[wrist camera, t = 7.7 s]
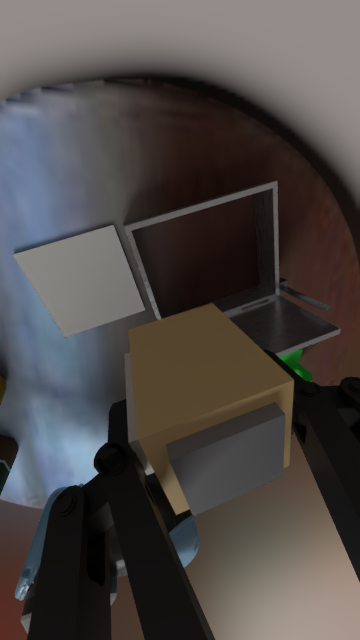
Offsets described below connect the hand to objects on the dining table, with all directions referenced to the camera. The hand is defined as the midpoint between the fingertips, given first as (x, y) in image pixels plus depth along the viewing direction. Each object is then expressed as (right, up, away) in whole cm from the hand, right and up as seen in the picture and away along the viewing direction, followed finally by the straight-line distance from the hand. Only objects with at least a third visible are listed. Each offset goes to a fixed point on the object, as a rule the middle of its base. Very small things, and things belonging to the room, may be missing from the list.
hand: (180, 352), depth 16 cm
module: (0, 0, 0) cm, 0 cm away
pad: (-14, +8, +18) cm, 24 cm away
